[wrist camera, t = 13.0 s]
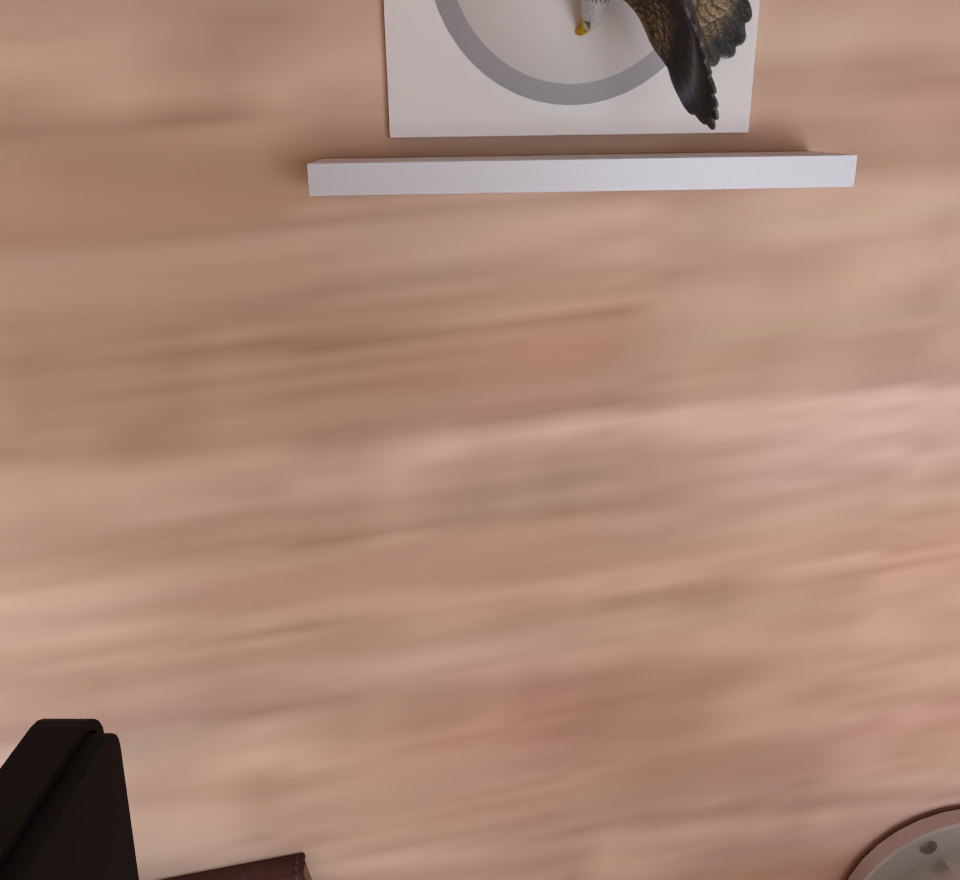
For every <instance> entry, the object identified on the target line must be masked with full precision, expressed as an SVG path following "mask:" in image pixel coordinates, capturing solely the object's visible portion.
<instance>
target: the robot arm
mask: <svg viewBox="0 0 960 880" xmlns="http://www.w3.org/2000/svg"><path fill="white" fill-rule="evenodd" d="M0 880H139V877H138V870H137V863H136V855H135V848H134V841H133V834H132V827H131V819H130V812H129V805H128V798H127V790H126V783H125V776H124V769H123V762H122V754H121V747H120V742H119V739H118V737H117V735H116V734H113V733H104V731H103V727H102V725H101V723H100V722H99V721H98V720H96V719H41V720H38V721H37V722H36V723H35V724H34V725H33V726H32V727H31V728H30V729H29V730H28V732H27V733H26V734H25V736H24V737H23V738H22V740H21V741H20V743H19V744H18V745H17V747H16V748H15V749H14V751H13V752H12V753H11V755H10V756H9V757H8V759H7V760H6V761H5V763H4V764H3V765H2V767H1V768H0ZM848 880H960V809H957V810H952V811H947V812H941V813H939V814H936V815H933V816H930V817H927V818H924V819H921V820H918V821H916V822H914V823H912V824H910V825H908V826H906V827H904V828H902V829H900V830H898V831H897V832H895V833H894V834H892V835H891V836H889V837H888V838H887V839H885V840H884V841H882V842H881V843H879V844H878V845H877V846H876V847H875V848H874V849H873V850H872V851H871V852H870V853H869V854H868V855H866V856H865V857H864V858H863V859H862V860H861V862H860V863H859V864H858V866H857V867H856V869H855V870H854V871H853V873H852V874H851V875H850V877H849V878H848Z"/></svg>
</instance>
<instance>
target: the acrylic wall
mask: <svg viewBox="0 0 960 880" xmlns="http://www.w3.org/2000/svg"><path fill="white" fill-rule="evenodd" d="M856 163H857V155H850V154H838V153H826V152H814V151H786V152H722V153H659V154H595V155H532V156H468V157H404V158H341V159H321V160H318V161H314V162H311V163H308V164H307V172H308V185H309V196H342V195H400V194H459V193H517V192H576V191H634V190H693V189H751V188H810V187H853V186H854V178H855V171H856Z"/></svg>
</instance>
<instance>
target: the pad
mask: <svg viewBox="0 0 960 880" xmlns="http://www.w3.org/2000/svg"><path fill="white" fill-rule="evenodd" d="M748 1H749V3H750V5H751V9H752V18H751V20H750V21H749V22H747V23H746V24H745V30H746V39H745V42H744V43H743V44H742V45H740V46H737V47H736V52H735V55H734V56H733V57H732V58H728V59H725V58H723V57H721V58H720V60H719V63H718V64H717V65H716V66H715V67H711V66H710V67H711V70H712V78H713V80H714V83H715V86H716V89H717V93H716V94H715V97H716V98H717V101H718V104H719V106H718V108H717V110H718V112H719V119H718V120H715V123H716V127H715V129H714V130H711V129H710V128H709V127H708V126H707V125H704V124H702V123H701V122H700V121H699V120H698V118H697V117H696V116H695V115H691V114H689V113H688V112H687V110H686V109H685V108H684V106H683V105H682V103H681V101H680V99H679V97H678V95H677V93H676V91H675V89H674V87H673V84H672V82H671V79H670V75H669V72H668V68H667V67H666V65H665V64H664V62H663V61H662V59H661V58H660V57H659V56H658V54H657V53H656V52H655V50H654V49H653V47H652V46H651V43H650V41H649V39H648V37H647V34H646V32H645V30H644V27H643V25H642V23H641V21H640V19H639V17H638V16H637V15H636V13H635V12H634V10H633V9H632V8H631V7H630V6H629V5H628V3H626V2H625V1H623V0H610V1H609V4H608V7H607V10H606V12H605V15H604V17H603V18H602V20H601V21H600V22H599V24H598V25H597V26H596V28H595V29H593V30H590V31H589V32H588V33H587V34H585V35H582V36H578V35H577V34H576V33H575V29H576V28H577V27H578V25H579V22H580V8H581V5H580V0H384V18H385V39H386V61H387V83H388V104H389V126H390V138H402V137H468V136H535V135H602V134H668V133H735V132H748V131H749V119H750V108H751V96H752V85H753V73H754V62H755V50H756V39H757V27H758V16H759V4H760V0H748Z"/></svg>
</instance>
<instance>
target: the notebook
mask: <svg viewBox="0 0 960 880" xmlns="http://www.w3.org/2000/svg"><path fill="white" fill-rule="evenodd" d="M304 859H305V854H304V853H300V854H294V855H289V856H284V857H279V858H273V859H268V860H263V861H258V862H252V863H247V864H242V865H237V866H232V867H226V868H221V869H216V870H211V871H205V872H200V873H195V874H190V875H184V876H179V877H174V878H169V879H163V880H312V879H311V876H310V874H309V871H308V868H307V865H306V862H305V860H304Z"/></svg>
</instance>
